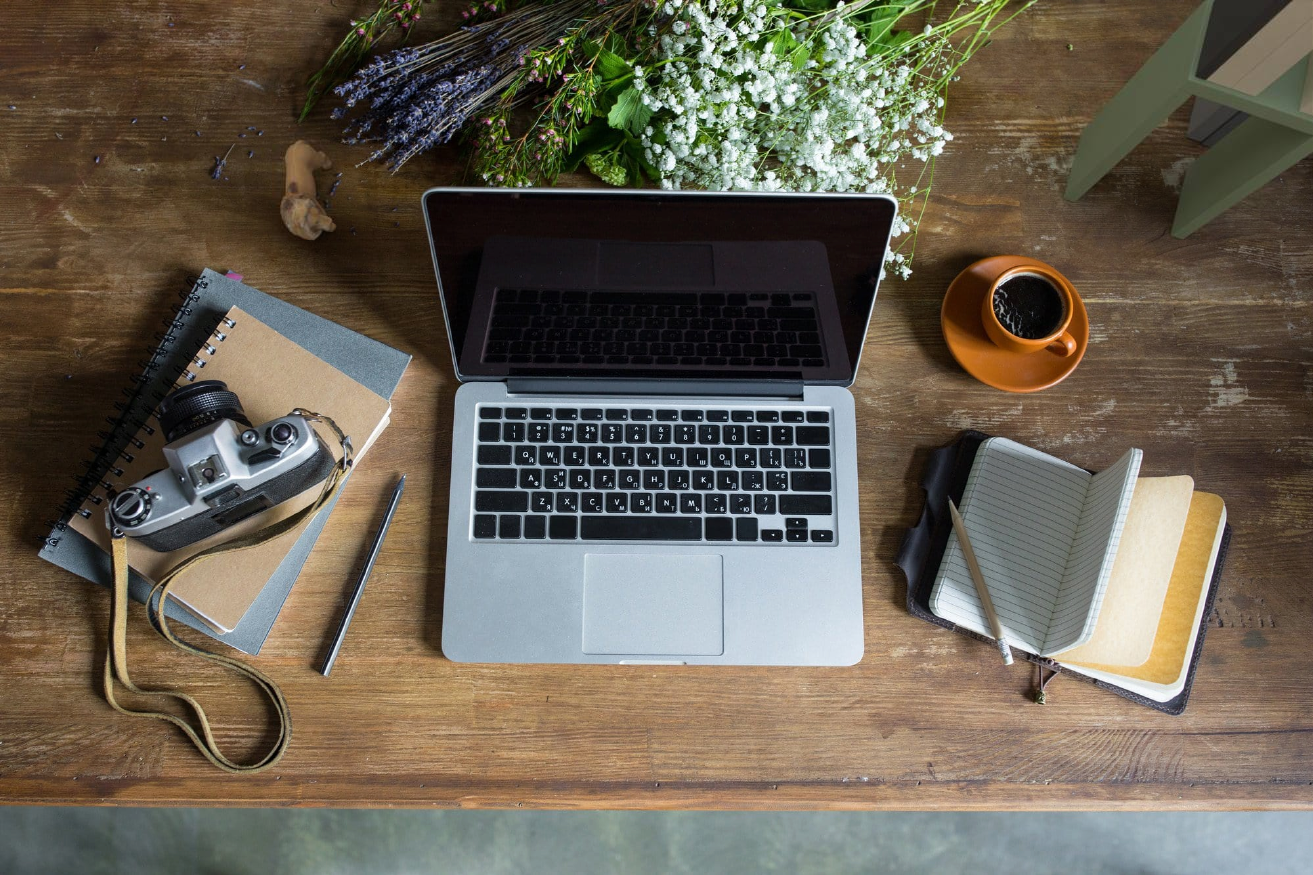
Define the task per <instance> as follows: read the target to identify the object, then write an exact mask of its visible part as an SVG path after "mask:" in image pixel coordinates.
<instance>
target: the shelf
mask: <svg viewBox="0 0 1313 875" xmlns="http://www.w3.org/2000/svg"><path fill="white" fill-rule="evenodd" d="M1213 2H1214V0H1204V1H1202V3H1201V4H1200V5H1199V6H1198V7H1197V8H1196V9H1195V10H1194V11H1193V12H1192V13H1191V14H1190V15H1189V17H1188V18H1187V19H1186V20H1184V22H1183V23H1182V24H1181V25H1180V26H1179V27H1178V29H1176V30H1175V31H1174V33H1172V35H1171V36H1170V37H1169V38H1168V39H1167V40H1166V41H1165V42H1164V43H1163V44H1162V45H1161V46H1160V47H1159V48H1158V49H1157V51H1155V52H1154V54H1153V55H1152V56H1151V57H1150V58H1148V60H1147V61H1146V62H1145V63H1144V64H1143V65H1142V66H1141V68H1139V69H1138V70H1137V71H1136V72H1135V74H1134V75H1133V76H1132V77H1130V79H1129V80H1128V81H1127V82H1126V83H1125V85H1124V86H1122V87H1121V89H1119V90H1118V92H1117V93H1115V95H1114V96H1113V97H1112V98H1111V99H1110V100H1109V101H1108V102H1107V104H1105V106H1103V108H1102V109H1101V110H1100V111H1099V112H1098V113H1097V114H1096V115H1095V116H1094V117H1093V118H1092V119H1091V120H1090V121H1089V122H1088V124H1087V125H1086V126H1084V128H1082V130H1081V134H1080V137H1079V141H1078V143H1077V147H1076V150H1075V154H1074V155H1075V156H1074V158H1073V162H1072V165H1071V169H1070V171H1069V172H1070V173H1069V176H1068V179H1067V183H1066V187H1065V190H1064V194H1063V197H1062V199H1064V200H1067V201H1070V202H1073V203H1076V202H1077V201H1078V200H1079V199H1080V198H1082V197H1083V196H1084V195H1085V194H1086V193H1087V192H1088V191H1089V190H1090V189H1091V188H1092V187H1094V186H1095V185H1096V184H1097V183H1098V182H1099V181H1100V180H1101V179H1102V178H1103V177H1104V176H1105V175H1107V174H1108V173H1109V172H1110V171H1111V170H1112V169H1113V168H1114V167H1115V166H1116V165H1117V164H1119V163H1120V162H1121V161H1122V160H1123V159H1125V157H1126V156H1128V154H1129V153H1131V152H1132V150H1134V149H1135V148H1136V147H1137V146H1138V145H1139V144H1140V143H1142V142H1143V141H1144V140H1145V139H1146V138H1147V137H1148V136H1149V135H1150V134H1151V133H1152V132H1154V131H1155V130H1156V129H1157V128H1158V127H1159V126H1160V125H1161V124H1162V123H1164V122H1165V121H1166V119H1168V118H1169V117H1170V116H1171V115H1172V114H1173V113H1174V112H1175V111H1177V110H1178V109H1179V108H1180V107H1181V106H1182V105H1183V104H1184V103H1185V102H1186V101H1187V100H1188V99H1190V98H1191V96H1195V97H1196V96H1199V97H1202V98H1204V99H1207V100H1210V101H1213V102H1216V103H1219V104H1222V105H1225V106H1228V107H1231V108H1234V109H1237V110H1240V111H1243V112H1246V113H1249V114H1252V115H1251V116H1250V117H1249V118H1248V119H1246V120H1245V121H1244V122H1242V123H1241V124H1240V125H1239V126H1237V127H1236V128H1235V129H1234V130H1232V131H1231V132H1230V133H1229V134H1227V135H1226V136H1225V137H1224V138H1222V139H1221V140H1220V141H1219V142H1217V143H1216V144H1215V145H1214V146H1212V147H1211V148H1210V147H1209V149H1207V150H1206V151H1205V152H1204V153H1202V154H1201V155H1200V156H1198V157H1197V158H1196V159H1195V160H1193V161H1192V162H1191V163H1190V164H1188V165H1187V166H1186V170H1185V175H1184V178H1183V183H1182V186H1181V191H1180V195H1179V199H1178V202H1177V207H1176V210H1175V215H1174V218H1173V224H1172V228H1171V231H1170V237H1173V238H1176V239H1178V240H1181V241H1182V240H1184V239H1185V238H1187V237H1188V236H1190V235H1191V234H1193V233H1194V232H1196V231H1197V230H1199V229H1200V228H1203V227H1204V226H1205V225H1206V224H1208V223H1209V222H1211V221H1213V220H1214V219H1215V218H1217V217H1219V216H1220V215H1221V214H1223V213H1224V212H1226V211H1228V210H1229V209H1230V208H1232V207H1233V206H1235V205H1236V204H1238V203H1239V202H1241V201H1242V200H1244V199H1245V198H1246V197H1248V196H1250V195H1252V194H1253V193H1254V192H1256V191H1257V190H1259V189H1260V188H1261V187H1263V186H1265V185H1266V184H1267V183H1269V182H1271V181H1272V180H1273V179H1275V178H1277V177H1278V176H1280V175H1281V174H1282V173H1284V172H1286V171H1287V170H1288V169H1290V168H1291V167H1293V166H1295V165H1296V164H1297V163H1299V162H1300V161H1302V160H1304V159H1305V158H1306V157H1308V156H1309V155H1311V154H1312V153H1313V116H1311V115H1308V114H1305V113H1302V112H1299V109H1300V103H1301V98H1302V93H1303V88H1304V83H1305V78H1306V73H1307V67H1308V62H1309V57H1310V52H1311V51H1310V52H1309V53H1308V54H1307V55H1305V56H1304V57H1303V58H1302V59H1301V60H1299V61H1298V62H1297V63H1296V64H1294V65H1293V66H1292V67H1291V68H1290V69H1288V70H1287V71H1286V72H1285V73H1284V74H1282V75H1281V76H1280V77H1279V78H1277V79H1276V80H1275V81H1274V82H1273V83H1271V84H1270V85H1269V86H1268V87H1266V88H1265V89H1264V90H1263V91H1262V92H1260V93H1259V94H1258V95H1257V96H1256V97H1254V96H1251V95H1248V94H1245V93H1242V92H1239V91H1236V90H1233V89H1231V88H1227V87H1224V86H1221V85H1218V84H1215V83H1212V82H1209V81H1207V80H1206V79H1207V78H1206V79H1205V80H1204V79H1201V78H1198V77H1195V75H1196V71H1197V67H1198V62H1199V58H1200V54H1201V50H1202V46H1203V42H1204V38H1205V34H1206V30H1207V26H1208V22H1209V18H1210V14H1211V10H1212V6H1213Z"/></svg>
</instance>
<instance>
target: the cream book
mask: <svg viewBox="0 0 1313 875" xmlns="http://www.w3.org/2000/svg"><path fill="white" fill-rule="evenodd" d="M1299 112H1302V113H1305V114H1308V115H1311V116H1313V50H1312V51H1311V52H1310V57H1309V62H1308V67H1307V73H1306V78H1305V83H1304V88H1303V93H1302V98H1301V103H1300V109H1299Z"/></svg>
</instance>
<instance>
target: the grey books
mask: <svg viewBox="0 0 1313 875" xmlns="http://www.w3.org/2000/svg"><path fill="white" fill-rule="evenodd" d="M1251 115H1252V114H1249V113H1246V112H1243V111H1240V110H1237V109H1234V108H1231V107H1228V106H1225V105H1222V104H1219V103H1216V102H1213V101H1210V100H1207V99H1204V98H1202V97H1199V96H1196V95H1195V98H1194V103H1193V107H1192V111H1191V115H1190V118H1189V122H1188V127H1187V131H1186V136H1185V137H1186V138H1188V139H1191V140H1192V141H1193V140H1194V141H1197V142H1199V143H1201V145H1202V146H1204V147H1208V148H1209V149H1210V148H1211V147H1212V146H1214V145H1215V144H1216V143H1217V142H1219V141H1220V140H1221V139H1222V138H1224V137H1225V136H1226V135H1227V134H1229V133H1230V132H1231V131H1232V130H1234V129H1235V128H1236V127H1237V126H1239V125H1240V124H1241V123H1242V122H1244V121H1245V120H1246V119H1248V118H1249V117H1250V116H1251Z"/></svg>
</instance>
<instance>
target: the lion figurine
mask: <svg viewBox="0 0 1313 875" xmlns="http://www.w3.org/2000/svg"><path fill="white" fill-rule="evenodd" d="M284 156H285V157H284V162H285V168H286V169H285V170H286V174H285V193H284V196H283V197H282V199H281V200H282V201H281V202H280V205H279V207H280V211H279V214H280V215H281V219H282V221H283V224H284V225H285V227H286V228H287V229H288V231H289V232H290V233H292V234H293V235H294V236H298V237H300V238H302V239H303V240H307V241H308V240H309V241H315V240H316V239H317V238H319V237H320V235H321V234H322V232H324V231H325V232H329V233H333V232H334V231H335V230H336V229H337V225H336V224H335V223H334V222H333V219H332V217H330V216H327V213H326V211H325V209H324V208H323V207H322V206H321V204H320V203H319V202H318V201H317V191H316V181H315V179H314V175H313V171H314V170H317V169H320V168H322V169H324V170H326V171H329V170H330V169H331V168H332V167H333V163H332V161H331V160H330V158H329V157H328V156H327V155H326V153H325V152H323V151H316V149H314V148H313V147H312V146H311V145H310V144H309V143H308V142H307V141H305V140H303V139H299V140H297V141H296V142H295V143H294V144H292V145H290V146H289V147H288V149H287V150H286V153H285V155H284Z"/></svg>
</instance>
